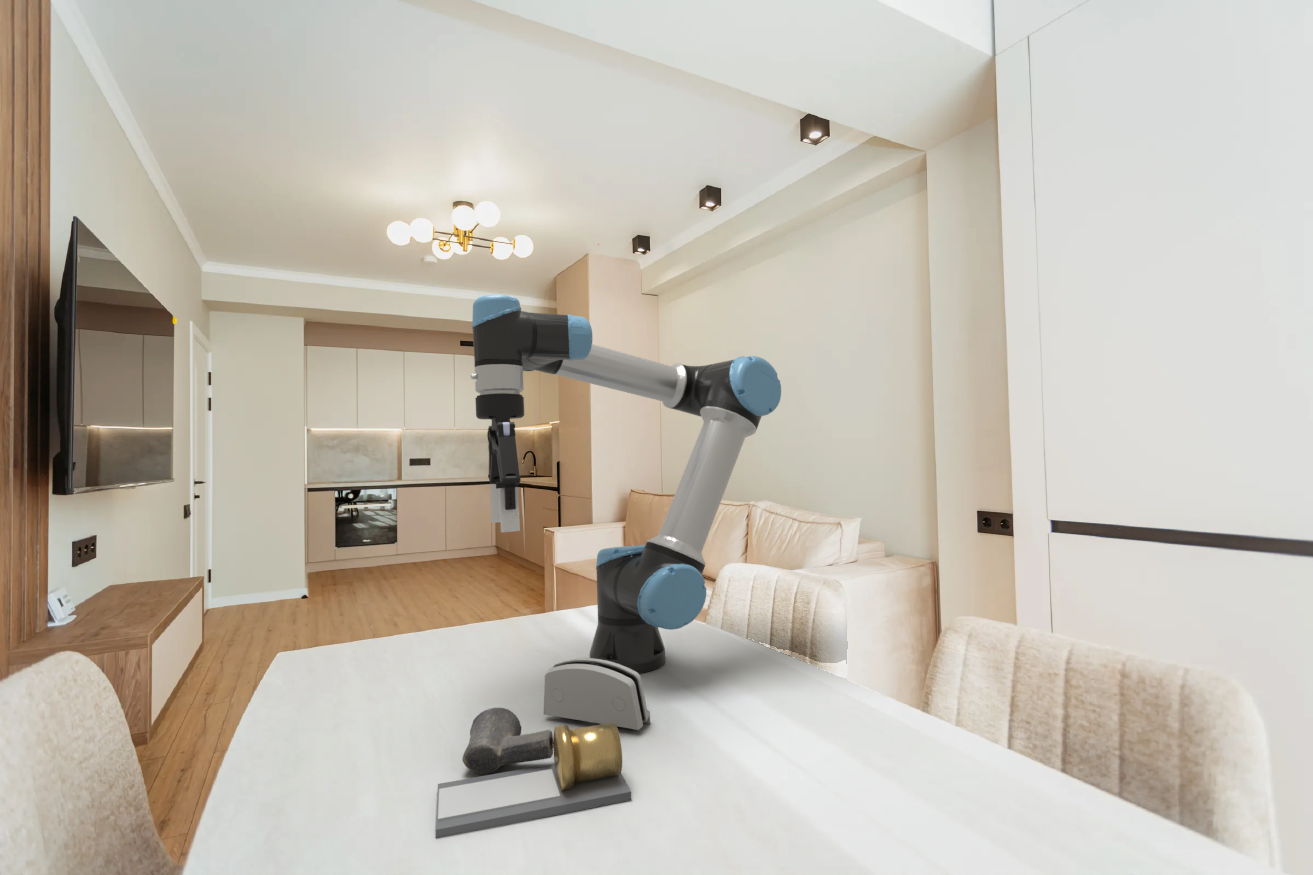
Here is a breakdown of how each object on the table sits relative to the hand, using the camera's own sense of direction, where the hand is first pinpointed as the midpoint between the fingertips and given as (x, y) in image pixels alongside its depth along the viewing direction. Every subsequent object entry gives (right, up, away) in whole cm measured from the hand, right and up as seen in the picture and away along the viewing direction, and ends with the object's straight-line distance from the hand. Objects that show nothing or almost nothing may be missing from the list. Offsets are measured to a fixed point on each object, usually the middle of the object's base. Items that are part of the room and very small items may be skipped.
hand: (504, 526), depth 100 cm
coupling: (+16, -29, -22) cm, 40 cm away
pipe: (+4, -27, -20) cm, 34 cm away
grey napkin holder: (+15, -30, -3) cm, 34 cm away
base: (+9, -29, -24) cm, 39 cm away
